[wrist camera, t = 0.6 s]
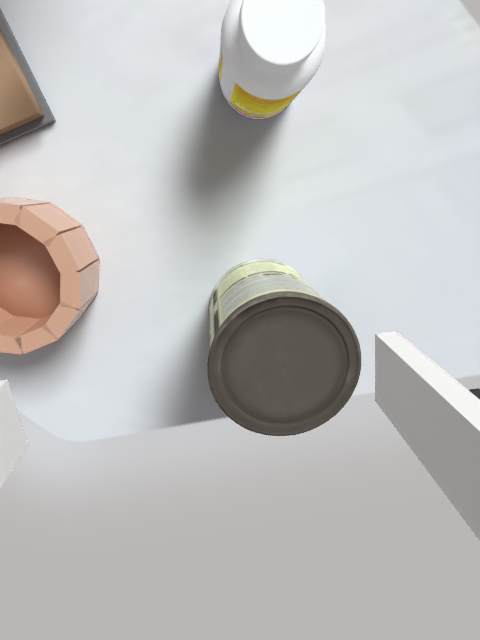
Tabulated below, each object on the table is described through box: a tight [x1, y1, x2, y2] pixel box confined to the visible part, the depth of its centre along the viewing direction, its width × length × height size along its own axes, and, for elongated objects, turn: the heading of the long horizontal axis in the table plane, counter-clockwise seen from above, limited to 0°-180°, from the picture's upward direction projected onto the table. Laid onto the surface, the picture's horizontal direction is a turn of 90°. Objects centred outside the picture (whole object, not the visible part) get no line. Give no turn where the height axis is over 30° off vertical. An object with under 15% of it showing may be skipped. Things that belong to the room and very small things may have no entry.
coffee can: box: [208, 259, 361, 436], centre depth 35 cm, size 10×10×14 cm
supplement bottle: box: [219, 0, 326, 119], centre depth 29 cm, size 7×7×13 cm
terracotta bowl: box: [0, 197, 100, 355], centre depth 36 cm, size 12×12×6 cm
